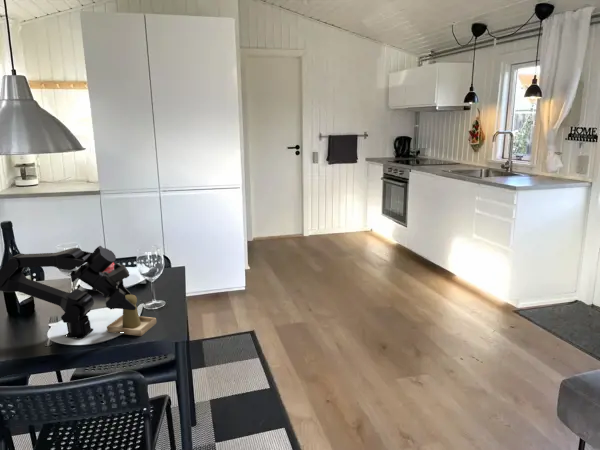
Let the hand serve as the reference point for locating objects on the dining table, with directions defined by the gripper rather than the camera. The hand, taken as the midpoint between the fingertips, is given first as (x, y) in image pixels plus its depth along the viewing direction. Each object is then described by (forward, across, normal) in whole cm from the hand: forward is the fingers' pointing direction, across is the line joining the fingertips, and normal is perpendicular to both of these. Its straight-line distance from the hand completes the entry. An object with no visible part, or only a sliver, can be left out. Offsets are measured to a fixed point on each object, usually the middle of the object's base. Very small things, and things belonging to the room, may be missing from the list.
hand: (134, 303), depth 155 cm
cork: (+5, 0, +7) cm, 8 cm away
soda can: (+1, +41, +12) cm, 43 cm away
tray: (+5, 0, +7) cm, 9 cm away
